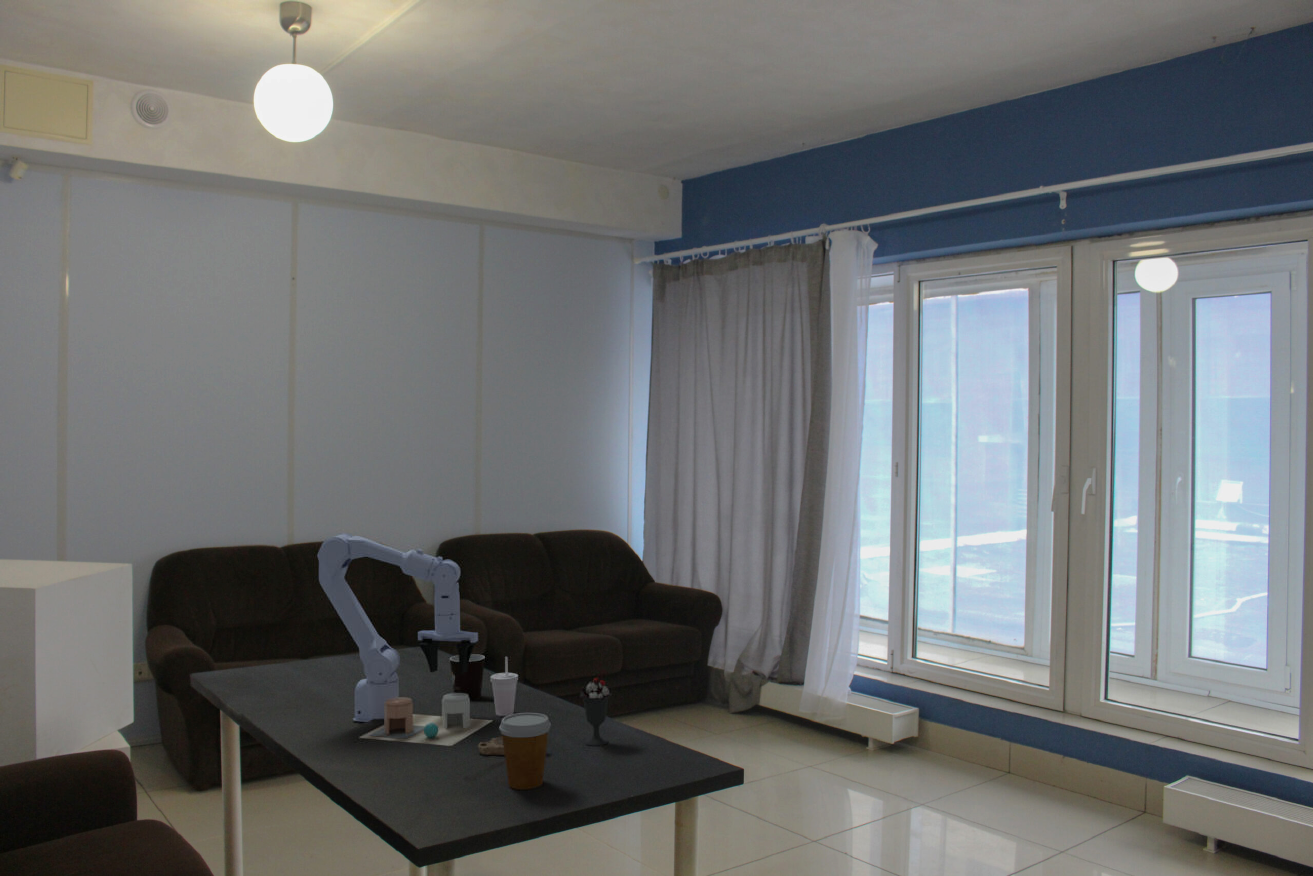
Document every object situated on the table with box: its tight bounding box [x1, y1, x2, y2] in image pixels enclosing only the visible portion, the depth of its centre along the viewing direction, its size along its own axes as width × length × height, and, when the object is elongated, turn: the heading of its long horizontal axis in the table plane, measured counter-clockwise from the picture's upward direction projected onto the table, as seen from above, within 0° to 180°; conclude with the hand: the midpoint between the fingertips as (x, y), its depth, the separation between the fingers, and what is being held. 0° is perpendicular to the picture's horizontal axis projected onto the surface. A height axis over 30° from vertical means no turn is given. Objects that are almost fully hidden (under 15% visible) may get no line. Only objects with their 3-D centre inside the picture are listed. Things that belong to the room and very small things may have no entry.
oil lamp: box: [477, 735, 505, 756], centre depth 199 cm, size 13×8×5 cm, turn 104°
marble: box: [424, 723, 438, 738], centre depth 208 cm, size 3×3×3 cm
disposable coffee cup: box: [498, 712, 552, 790], centre depth 182 cm, size 10×10×12 cm
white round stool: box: [441, 692, 471, 729], centre depth 216 cm, size 6×6×7 cm
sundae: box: [579, 669, 612, 747], centre depth 207 cm, size 7×7×15 cm
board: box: [358, 713, 493, 747], centre depth 214 cm, size 22×19×1 cm
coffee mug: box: [449, 653, 486, 702], centre depth 245 cm, size 12×9×10 cm
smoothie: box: [490, 656, 519, 717], centre depth 226 cm, size 6×6×14 cm
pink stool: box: [383, 696, 414, 734], centre depth 212 cm, size 6×6×7 cm
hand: (448, 672), depth 227 cm, fingers open, 7 cm apart
